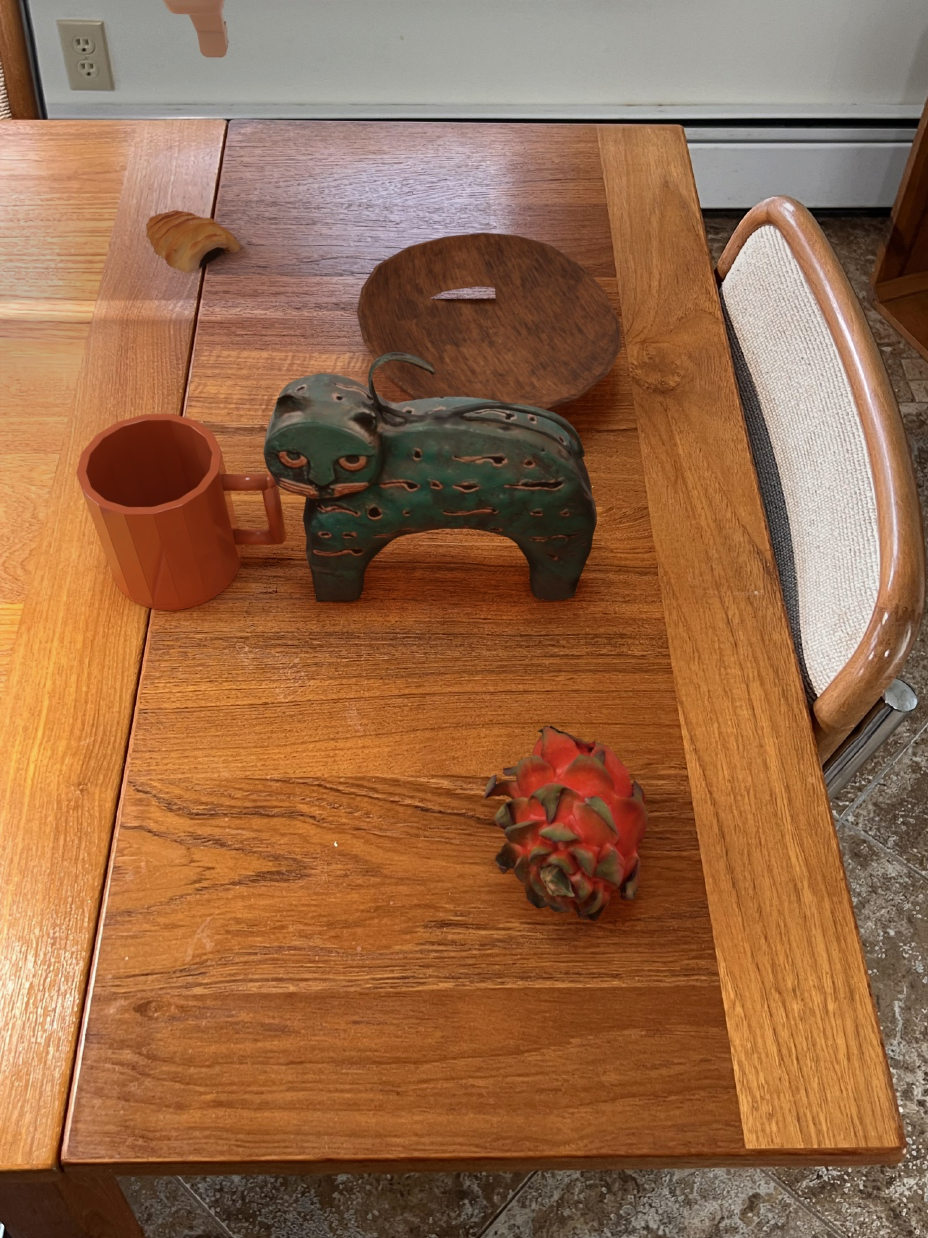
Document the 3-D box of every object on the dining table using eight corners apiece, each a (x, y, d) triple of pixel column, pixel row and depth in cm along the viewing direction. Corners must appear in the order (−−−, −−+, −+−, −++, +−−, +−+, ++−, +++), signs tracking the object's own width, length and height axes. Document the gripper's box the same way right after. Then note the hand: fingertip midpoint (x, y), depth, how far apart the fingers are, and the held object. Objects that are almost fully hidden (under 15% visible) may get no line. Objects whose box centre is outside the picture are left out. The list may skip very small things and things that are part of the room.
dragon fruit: (564, 973, 64) (538, 798, 72) (700, 916, 61) (655, 740, 69) (474, 912, 59) (458, 731, 67) (617, 846, 55) (580, 665, 64)
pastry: (128, 247, 101) (118, 208, 98) (192, 218, 104) (185, 179, 101) (188, 297, 97) (180, 259, 94) (254, 266, 100) (248, 227, 97)
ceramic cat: (288, 615, 77) (246, 384, 61) (298, 542, 81) (261, 307, 65) (587, 619, 77) (623, 389, 61) (581, 545, 81) (614, 312, 65)
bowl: (407, 488, 84) (405, 438, 80) (332, 307, 96) (327, 255, 92) (655, 431, 88) (665, 380, 84) (552, 264, 100) (556, 213, 96)
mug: (102, 611, 77) (65, 514, 69) (123, 513, 82) (90, 413, 74) (285, 609, 77) (268, 512, 69) (294, 512, 82) (279, 412, 75)
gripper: (164, -267, 77) (198, -47, 88) (109, -148, 65) (157, 91, 76) (259, -265, 77) (281, -45, 88) (222, -146, 65) (253, 92, 76)
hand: (223, 19), depth 82 cm, fingers open, 8 cm apart
